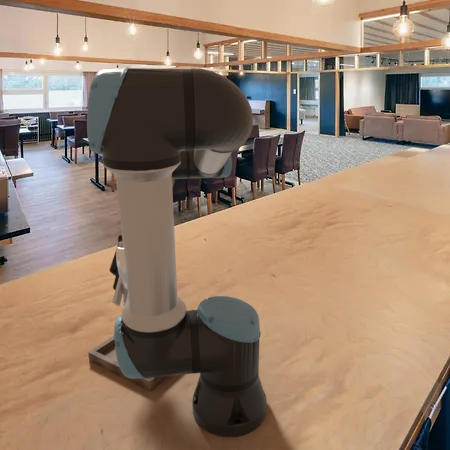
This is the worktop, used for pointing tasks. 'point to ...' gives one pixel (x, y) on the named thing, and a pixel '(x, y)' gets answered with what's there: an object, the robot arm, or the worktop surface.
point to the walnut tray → (108, 360)
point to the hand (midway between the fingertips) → (128, 305)
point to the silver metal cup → (122, 271)
